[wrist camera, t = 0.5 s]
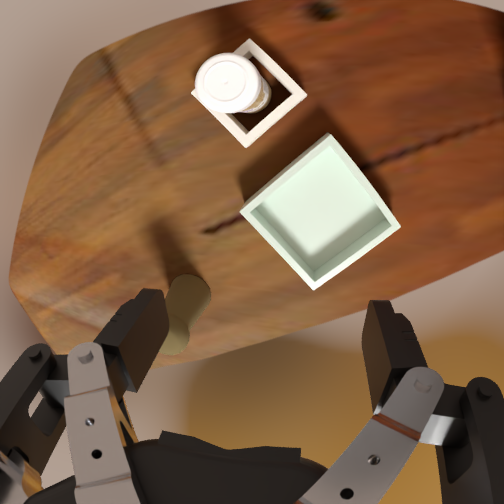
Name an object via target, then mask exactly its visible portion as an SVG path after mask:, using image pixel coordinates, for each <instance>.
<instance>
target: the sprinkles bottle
mask: <svg viewBox="0 0 504 504" xmlns="http://www.w3.org/2000/svg"><path fill="white" fill-rule="evenodd" d="M195 89H196V93H197V95H198V97H199V99H200V101H201V102H202V103H203V104H204V105H205V106H206V107H208V108H209V109H211V110H213V111H216V112H221V113H236V112H244V113H249V114H251V113H257V112H260V111H262V110H263V109H264V108H265V107H267V105H268V104H269V102H270V99H271V88H270V86H269V84H268V83H267V81H266V80H264V79H263V77H262V76H261V75H260V74H259V72H258V70H257V68H256V67H255V66H254V64H253V63H252V62H250V61H249V60H248V59H247V58H245V57H243V56H241V55H239V54H235V53H221V54H218V55H215V56H213V57H211V58H209V59H208V60H207V61H205V62H204V63H203V64H202V66H201V67H200V69H199V70H198V72H197V75H196V79H195Z"/></svg>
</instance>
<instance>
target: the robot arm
mask: <svg viewBox="0 0 504 504" xmlns="http://www.w3.org/2000/svg"><path fill="white" fill-rule="evenodd" d="M168 332H169V317H168V313H167V308H166V303H165V299H164V294H163V292H162V290H158V289H147V288H143V289H142V290H141V291H140V292H139V294H138V295H137V296H136V297H135V299H131V300H129V301H128V302H126V303H125V304H123V305H122V306H121V307H120V308H119V309H118V311H117V312H116V313H115V315H114V316H113V317H112V318H111V319H110V321H109V322H108V323H107V324H106V326H105V327H104V328H103V330H102V331H101V332H100V333H99V335H98V336H97V337H96V339H95V340H94V341H93V342H86V343H82V344H79V345H77V346H76V347H74V348H73V349H72V350H71V351H70V352H69V354H68V355H53V353H52V351H51V349H50V347H49V346H48V345H46V344H35V345H33V346H30V347H29V348H27V349H26V350H25V351H24V352H23V354H22V355H21V356H20V357H19V359H18V360H17V361H16V362H15V364H14V365H13V366H12V368H11V369H10V370H9V371H8V373H7V374H6V375H5V377H4V378H3V379H2V381H1V382H0V504H378V503H379V501H380V500H381V499H382V497H383V496H384V494H385V493H386V492H387V490H388V489H389V488H390V486H391V485H392V483H393V482H394V480H395V479H396V477H397V476H398V474H399V473H400V471H401V470H402V468H403V467H404V465H405V463H406V462H407V460H408V459H409V457H410V455H411V454H412V452H413V450H414V449H415V447H416V445H417V443H418V442H421V443H427V444H433V445H435V448H436V454H437V461H438V468H439V475H440V484H441V494H442V504H504V398H503V395H502V393H501V390H500V388H499V387H498V385H497V384H496V383H495V382H493V381H492V380H490V379H488V378H485V377H477V378H474V379H472V380H471V381H470V382H469V383H468V385H467V387H460V386H454V385H448V384H445V383H444V382H443V379H442V377H441V376H440V375H439V374H438V373H437V372H436V371H434V370H432V369H430V368H428V366H427V363H426V360H425V358H424V355H423V353H422V350H421V347H420V345H419V342H418V341H417V337H416V335H415V333H414V330H413V327H412V325H411V323H410V321H409V320H408V319H407V318H406V317H405V316H404V315H403V314H402V313H394V310H393V307H392V305H391V302H390V301H389V300H370V301H369V304H368V309H367V314H366V319H365V323H364V328H363V333H362V350H363V355H364V360H365V366H366V372H367V378H368V384H369V390H370V395H371V402H372V409H373V414H375V415H374V416H373V417H372V418H371V419H370V420H369V422H368V423H367V424H366V426H365V427H364V428H363V429H362V431H361V432H360V433H359V435H358V436H357V437H356V438H355V440H354V441H353V442H352V443H351V444H350V445H349V447H348V448H347V449H346V450H345V451H344V452H343V454H342V455H341V456H340V457H339V458H338V459H337V460H336V462H335V463H334V464H333V465H332V466H331V467H330V468H329V469H327V468H326V467H324V466H323V465H320V464H319V463H317V462H314V461H312V460H309V459H305V458H302V457H300V456H301V448H286V447H270V446H262V447H254V448H244V449H233V450H226V449H223V448H220V447H218V446H215V445H212V444H210V443H208V442H205V441H203V440H200V439H198V438H195V437H192V436H187V435H181V434H176V433H172V432H167V431H162V433H161V435H160V438H159V439H151V440H145V441H140V442H139V440H138V438H137V436H136V433H135V430H134V427H133V424H132V421H131V418H130V415H129V411H128V408H127V405H126V401H125V399H124V397H123V395H124V393H125V391H126V390H127V391H132V392H136V393H137V392H138V390H139V388H140V385H141V384H142V382H143V380H144V378H145V376H146V374H147V372H148V371H149V369H150V367H151V365H152V363H153V361H154V359H155V358H156V356H157V354H158V352H159V350H160V348H161V346H162V345H163V343H164V341H165V339H166V337H167V335H168ZM38 391H39V392H40V393H41V395H42V396H43V399H42V400H41V402H40V404H39V405H38V407H37V409H36V410H35V412H34V413H33V415H32V417H31V418H30V416H29V413H28V409H29V405H30V403H31V402H32V400H33V399H34V397H35V396H36V394H37V393H38ZM66 425H67V433H68V440H69V446H70V452H71V458H72V463H73V468H74V473H75V475H73V476H71V477H69V478H67V479H65V480H63V481H61V482H59V483H56V484H54V485H52V486H50V487H48V488H46V489H43V487H42V486H41V485H42V480H41V475H42V473H43V470H44V468H45V466H46V464H47V462H48V460H49V458H50V456H51V454H52V452H53V450H54V448H55V446H56V444H57V442H58V440H59V439H60V436H61V435H62V433H63V431H64V429H65V427H66Z"/></svg>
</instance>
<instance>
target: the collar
mask: <svg viewBox="0 0 504 504" xmlns="http://www.w3.org/2000/svg"><path fill="white" fill-rule="evenodd" d="M233 53H235V54H239V55H241V56H243V57H245V58H247V59H248V60H249V59H250V58H251V57H252V56H254V57H255V58H256V59H257V60H258V61H259V62H260V63H261V64H262V65H263V66H264V67H265V68H266V69H267V70H268V71H269V72H270V73H271V74H272V75H273V76H274V77H275V78H276V79H277V80H278V81H279V82H280V83H281V84H282V85H283V86H284V87H285V88H286V89H287V90H288V91H289V92H290V93H291V94H292V95H291V96H290V97H289V98H288V99H286V100H285V101H284V102H283V103H282V104H280V105H279V106H278V107H277V108H276V109H275V110H274V111H272V112H271V113H270V114H269V115H268V116H267V117H265V118H264V119H263V120H262V121H261V122H260V123H259V124H258V125H256V126H255V127H254V128H253V129H252V130H251V131H250V132H249V131H248V130H247V129H246V128H245V127H244V126H243V125H242V124H241V123H240V122H239V121H238V120H237V119H236V118H235V117H234V116H233V115H232V114H231V113H221V112H216V111H213V110H211V109H209V108H208V107H206V106H205V105H204V104H203V103H202V102H201V101H200V99H199V97H198V95H197V93H196V89H194V90H193V91H192V92H191V94H192V95H193V96H194V97H196V98H197V99H198V100H199V101H200V102H201V103H202V104H203V105H204V106H205V107H206V108H207V109H208V110H209V111H210V112H211V113H212V114H213V115H214V116H215V117H216V118H217V119H218V120H219V121H220V122H221V123H222V124H223V125H224V126H225V127H226V128H227V129H228V130H229V131H230V132H231V133H232V134H233V136H234V137H235V138H236V139H237V140H238V141H239V142H240V143H241V144H242V145H243V146H244V147H245V148H247V147H248V146H250V145H251V144H252V143H253V142H254V141H255V140H256V139H258V138H259V137H260V136H261V135H262V134H263V133H264V132H265V131H267V130H268V129H269V128H270V127H271V126H272V125H273V124H275V123H276V122H277V121H278V120H279V119H280V118H282V117H283V116H284V115H285V114H286V113H287V112H289V111H290V110H291V109H292V108H293V107H294V106H296V105H297V104H298V103H299V102H300V101H302V100H303V99H304V98H305V97H306V96H307V94H306V93H305V92H304V91H303V90H302V89H301V88H300V87H299V86H298V85H297V84H296V83H295V82H294V81H293V80H292V79H291V77H290V76H289V75H288V74H287V73H286V72H285V71H284V70H283V69H282V68H281V67H279V66H278V65H277V64H276V63H275V62H274V61H273V60H272V59H271V58H270V57H269V56H268V55H267V54H266V53H265V52H264V51H263V50H262V49H261V48H259V47H258V46H257V45H256V44H255V43H254V42H253V41H252V40H251V39H250V38H249V39H248V40H247V41H246V42H245V43H243V44H242V45H241V46H240V47H239V48H238V49H237V50H235V51H234V52H233Z"/></svg>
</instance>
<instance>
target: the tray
mask: <svg viewBox="0 0 504 504" xmlns="http://www.w3.org/2000/svg"><path fill="white" fill-rule="evenodd" d="M240 213H241V214H242V215H243V216H244V217H245V218H246V219H247V220H248V221H249V222H250V223H251V224H252V225H253V227H254V228H255V229H256V230H257V231H258V232H259V233H260V234H261V235H262V236H263V237H264V238H265V239H266V240H267V241H268V242H269V243H270V245H271V246H272V247H273V248H274V249H275V250H276V251H277V252H278V253H279V254H280V255H281V256H282V257H283V258H284V259H285V261H286V262H287V263H288V264H289V265H290V266H291V267H292V268H293V269H294V270H295V271H296V272H297V273H298V274H299V276H300V277H301V278H302V279H303V280H304V281H305V282H306V283H307V284H308V285H309V286H310V287H311V288H312V290H315V289H316V288H318V287H319V286H321V285H322V284H323V283H325V282H326V281H328V280H329V279H331V278H332V277H333V276H335V275H336V274H338V273H339V272H341V271H342V270H343V269H345V268H346V267H348V266H349V265H350V264H352V263H353V262H354V261H356V260H357V259H359V258H360V257H361V256H363V255H364V254H365V253H367V252H368V251H370V250H371V249H372V248H374V247H375V246H376V245H378V244H379V243H380V242H382V241H383V240H384V239H386V238H387V237H388V236H390V235H391V234H392V233H394V232H395V231H396V230H397V229H399V228H400V227H401V226H400V225H399V223H398V222H397V220H396V219H395V217H394V216H393V214H392V213H391V212H390V210H389V209H388V207H387V206H386V204H385V203H384V202H383V200H382V199H381V197H380V196H379V195H378V193H377V192H376V191H375V189H374V188H373V186H372V185H371V184H370V182H369V181H368V180H367V178H366V177H365V176H364V175H363V173H362V172H361V171H360V169H359V168H358V167H357V166H356V164H355V163H354V162H353V160H352V159H351V158H350V157H349V155H348V154H347V153H346V152H345V150H344V149H343V148H342V147H341V146H340V144H339V143H338V142H337V141H336V140H335V138H334V137H333V136H332V135H331V134H329V133H328V132H327V133H326V134H325V135H324V136H323V137H321V138H320V139H319V140H318V141H316V142H315V143H314V144H313V145H312V146H310V147H309V148H308V149H307V150H306V151H304V152H303V153H302V154H301V155H300V156H298V157H297V158H296V159H295V160H294V161H292V162H291V163H290V164H289V165H288V166H286V167H285V168H284V169H283V170H282V171H281V172H279V173H278V174H277V175H276V176H275V177H274V178H272V179H271V180H270V181H269V182H268V183H267V184H265V185H264V186H263V187H262V188H261V189H260V190H258V191H257V192H256V193H255V194H254V195H253V196H252V197H250V198H249V199H248V200H247V201H246V202H245V203H244V204H243V206H242V208H241V210H240Z"/></svg>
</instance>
